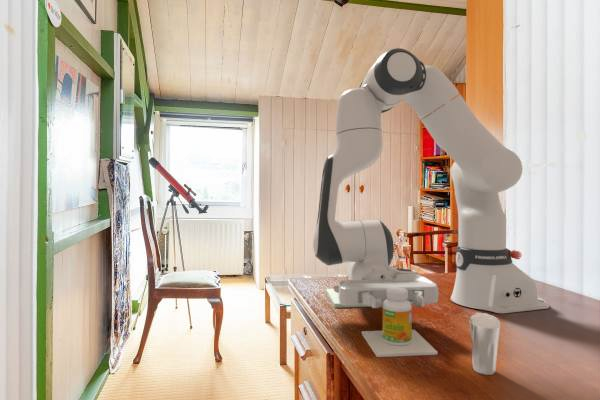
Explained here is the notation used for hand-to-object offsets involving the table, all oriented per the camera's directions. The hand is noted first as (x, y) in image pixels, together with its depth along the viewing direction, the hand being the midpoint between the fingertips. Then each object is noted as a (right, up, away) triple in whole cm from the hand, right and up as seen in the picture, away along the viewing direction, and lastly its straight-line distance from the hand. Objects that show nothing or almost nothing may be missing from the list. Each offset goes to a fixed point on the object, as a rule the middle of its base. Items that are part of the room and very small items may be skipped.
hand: (398, 303), depth 75 cm
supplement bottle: (0, -8, +1) cm, 8 cm away
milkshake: (+11, -9, -10) cm, 17 cm away
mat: (0, -8, +1) cm, 8 cm away
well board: (-4, -7, +31) cm, 32 cm away
